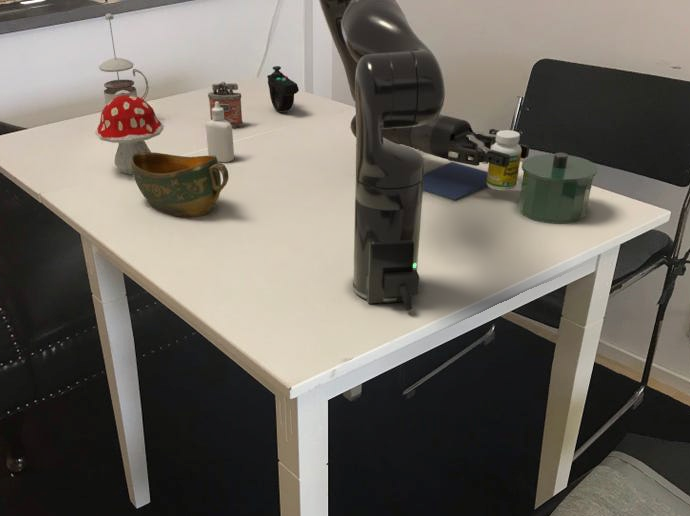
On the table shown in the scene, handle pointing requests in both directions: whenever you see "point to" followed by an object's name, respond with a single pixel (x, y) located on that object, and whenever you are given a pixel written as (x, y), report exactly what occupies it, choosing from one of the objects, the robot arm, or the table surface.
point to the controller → (281, 90)
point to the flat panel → (454, 180)
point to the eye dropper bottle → (219, 136)
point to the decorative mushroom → (128, 128)
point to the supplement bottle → (508, 176)
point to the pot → (554, 199)
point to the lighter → (227, 102)
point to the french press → (118, 85)
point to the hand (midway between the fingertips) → (517, 156)
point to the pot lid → (559, 167)
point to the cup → (179, 182)
